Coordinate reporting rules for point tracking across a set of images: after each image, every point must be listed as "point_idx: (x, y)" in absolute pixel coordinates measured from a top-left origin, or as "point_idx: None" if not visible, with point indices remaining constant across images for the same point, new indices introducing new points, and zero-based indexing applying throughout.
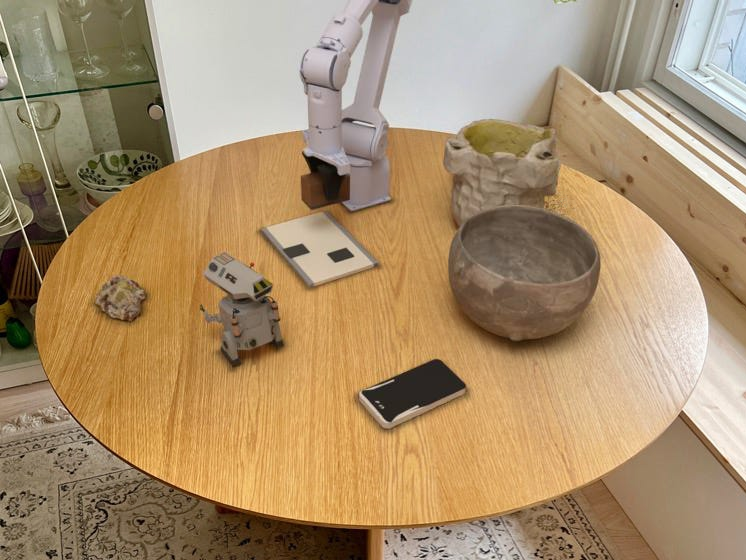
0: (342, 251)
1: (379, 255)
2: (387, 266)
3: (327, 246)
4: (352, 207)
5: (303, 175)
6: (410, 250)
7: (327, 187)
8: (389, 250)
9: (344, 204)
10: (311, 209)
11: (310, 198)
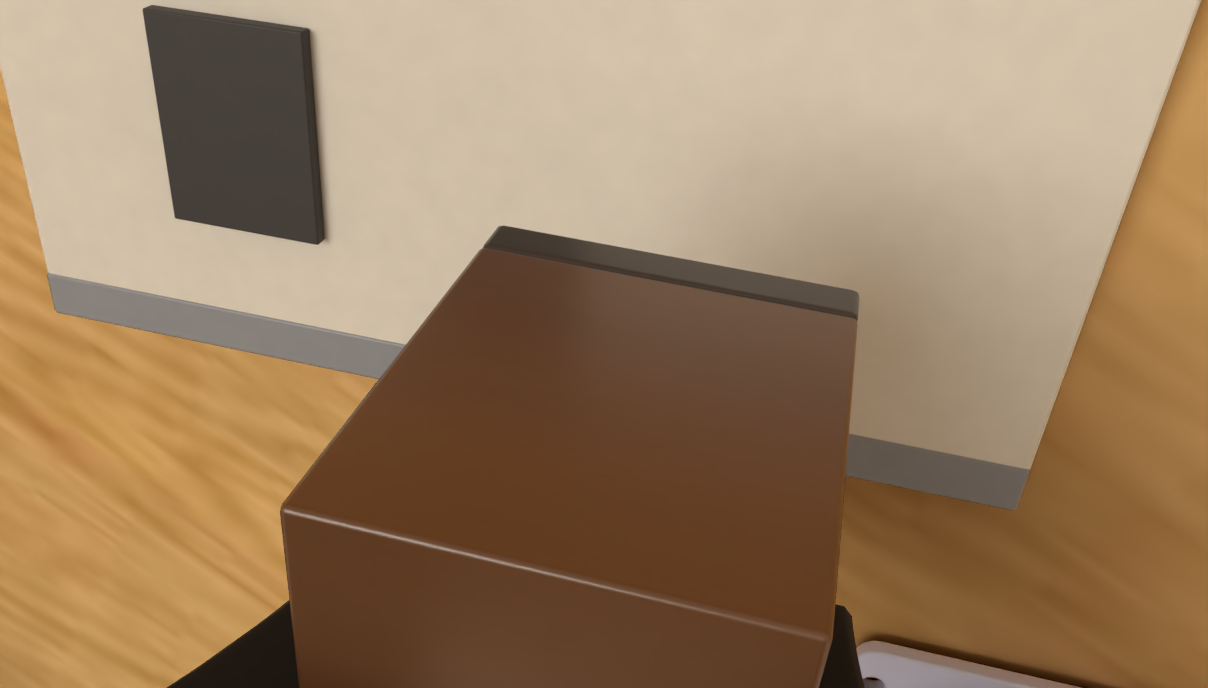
0: (270, 176)
1: (205, 391)
2: (58, 342)
3: (435, 120)
4: (885, 679)
5: (786, 681)
6: (187, 569)
7: (197, 674)
8: (237, 480)
9: (988, 672)
10: (494, 234)
11: (427, 328)
